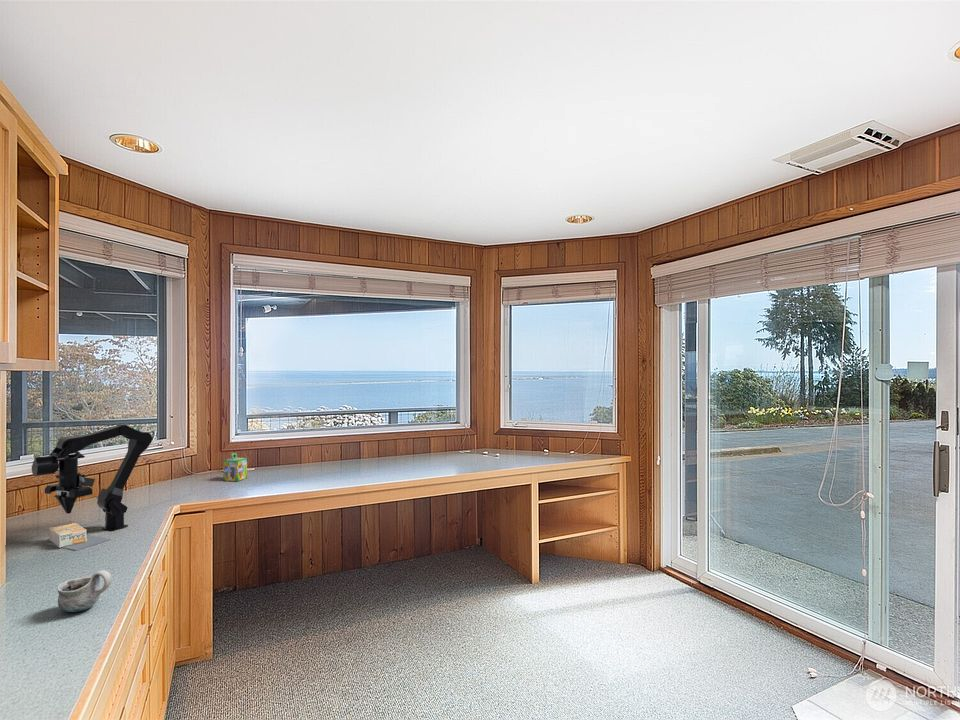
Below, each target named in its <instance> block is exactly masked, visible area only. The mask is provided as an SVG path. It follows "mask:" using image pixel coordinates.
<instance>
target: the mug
mask: <svg viewBox="0 0 960 720" xmlns="http://www.w3.org/2000/svg"><path fill="white" fill-rule="evenodd" d="M101 577H102V579H103V581H104V583H103V585H102V587H100V581H101ZM111 583H112V575H111V573H110V572H109V571H108V570H104V569H100V570H98V571H96V572H94V573H93V574H92V575H91V576H85V577H79V578H74V579H69V580H65V581H64V582H62V583H60V584H58V586H57V589H56V590H57V593H58V596H57V597H58V598H57V605H58V608H59V609H60V610H61V611H63V612H66V613H77V612H82V611H85V610H88V609H89V608H91V607H93V606H94V605H95V604H96V603H97V602H98V601H99V599H100V598H101V597H100V596H101V594H103V593H104V592H105V591H106V590H107V589H108V588H109V587H110V585H111Z"/></svg>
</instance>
